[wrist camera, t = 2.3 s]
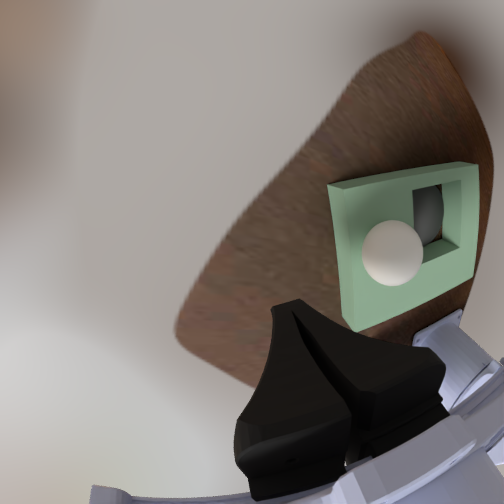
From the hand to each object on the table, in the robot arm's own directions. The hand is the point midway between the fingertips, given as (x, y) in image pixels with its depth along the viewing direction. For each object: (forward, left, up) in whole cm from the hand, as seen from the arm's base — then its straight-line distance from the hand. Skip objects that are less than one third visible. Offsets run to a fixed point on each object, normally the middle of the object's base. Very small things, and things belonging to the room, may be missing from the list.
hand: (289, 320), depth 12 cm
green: (-2, -13, -8) cm, 15 cm away
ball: (0, -8, -3) cm, 8 cm away
